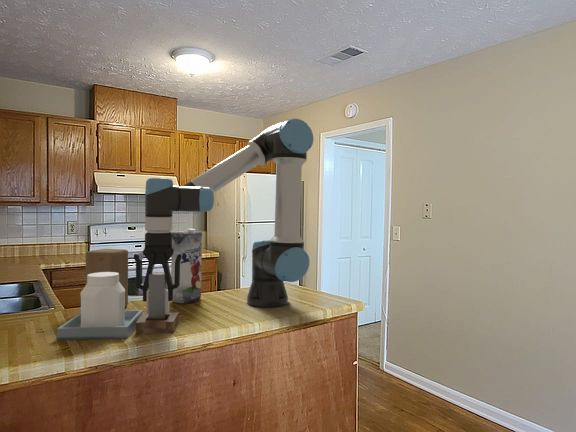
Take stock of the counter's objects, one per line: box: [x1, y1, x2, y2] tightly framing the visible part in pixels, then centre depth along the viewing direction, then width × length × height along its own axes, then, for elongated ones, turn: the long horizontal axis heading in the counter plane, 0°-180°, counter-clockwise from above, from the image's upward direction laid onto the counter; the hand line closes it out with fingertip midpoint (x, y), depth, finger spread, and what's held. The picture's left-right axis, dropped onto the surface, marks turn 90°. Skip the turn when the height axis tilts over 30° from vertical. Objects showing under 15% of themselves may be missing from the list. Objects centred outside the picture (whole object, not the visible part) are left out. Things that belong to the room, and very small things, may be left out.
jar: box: [80, 272, 126, 327], centre depth 114 cm, size 12×10×15 cm
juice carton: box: [170, 228, 203, 305], centre depth 149 cm, size 9×10×27 cm
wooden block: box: [85, 248, 129, 307], centre depth 135 cm, size 10×10×20 cm
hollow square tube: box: [135, 312, 179, 334], centre depth 116 cm, size 10×10×3 cm
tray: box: [56, 309, 144, 341], centre depth 114 cm, size 18×18×3 cm
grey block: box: [148, 271, 168, 320], centre depth 115 cm, size 4×4×14 cm
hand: (158, 312), depth 115 cm, fingers closed on grey block, 4 cm apart
